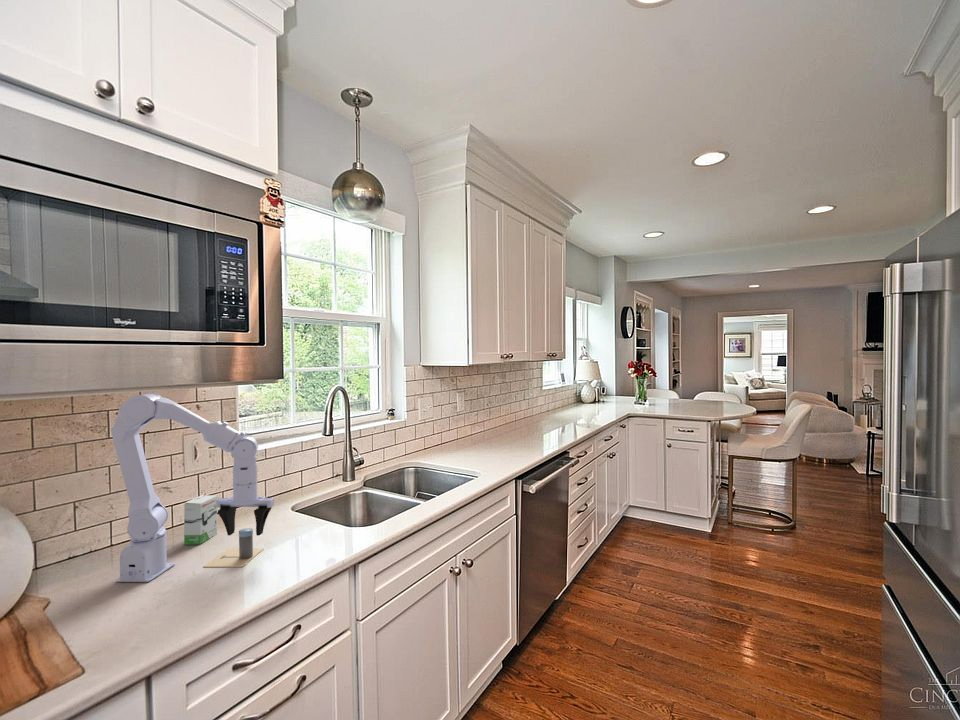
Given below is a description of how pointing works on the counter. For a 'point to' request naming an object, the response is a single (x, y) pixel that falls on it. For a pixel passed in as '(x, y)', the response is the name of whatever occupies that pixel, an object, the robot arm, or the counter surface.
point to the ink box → (200, 519)
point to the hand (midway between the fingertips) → (245, 534)
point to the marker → (246, 543)
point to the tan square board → (231, 559)
